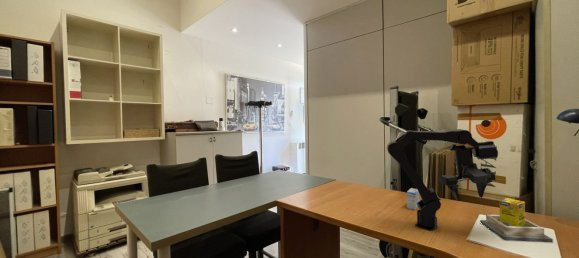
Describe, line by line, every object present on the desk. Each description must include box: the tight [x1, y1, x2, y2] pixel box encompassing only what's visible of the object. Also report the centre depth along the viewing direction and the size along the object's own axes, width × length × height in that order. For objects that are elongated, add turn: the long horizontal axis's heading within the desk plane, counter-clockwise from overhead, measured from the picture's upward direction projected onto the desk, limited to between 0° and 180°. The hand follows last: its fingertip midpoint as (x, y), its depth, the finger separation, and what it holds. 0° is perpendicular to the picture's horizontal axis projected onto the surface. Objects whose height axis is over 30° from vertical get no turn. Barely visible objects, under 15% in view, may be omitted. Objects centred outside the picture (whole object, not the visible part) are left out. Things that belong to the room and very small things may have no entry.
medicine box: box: [406, 187, 420, 211], centre depth 124 cm, size 8×4×9 cm, turn 141°
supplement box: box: [499, 197, 526, 227], centre depth 94 cm, size 6×6×11 cm
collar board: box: [479, 214, 554, 243], centre depth 94 cm, size 15×15×4 cm
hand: (469, 198), depth 96 cm, fingers open, 9 cm apart
